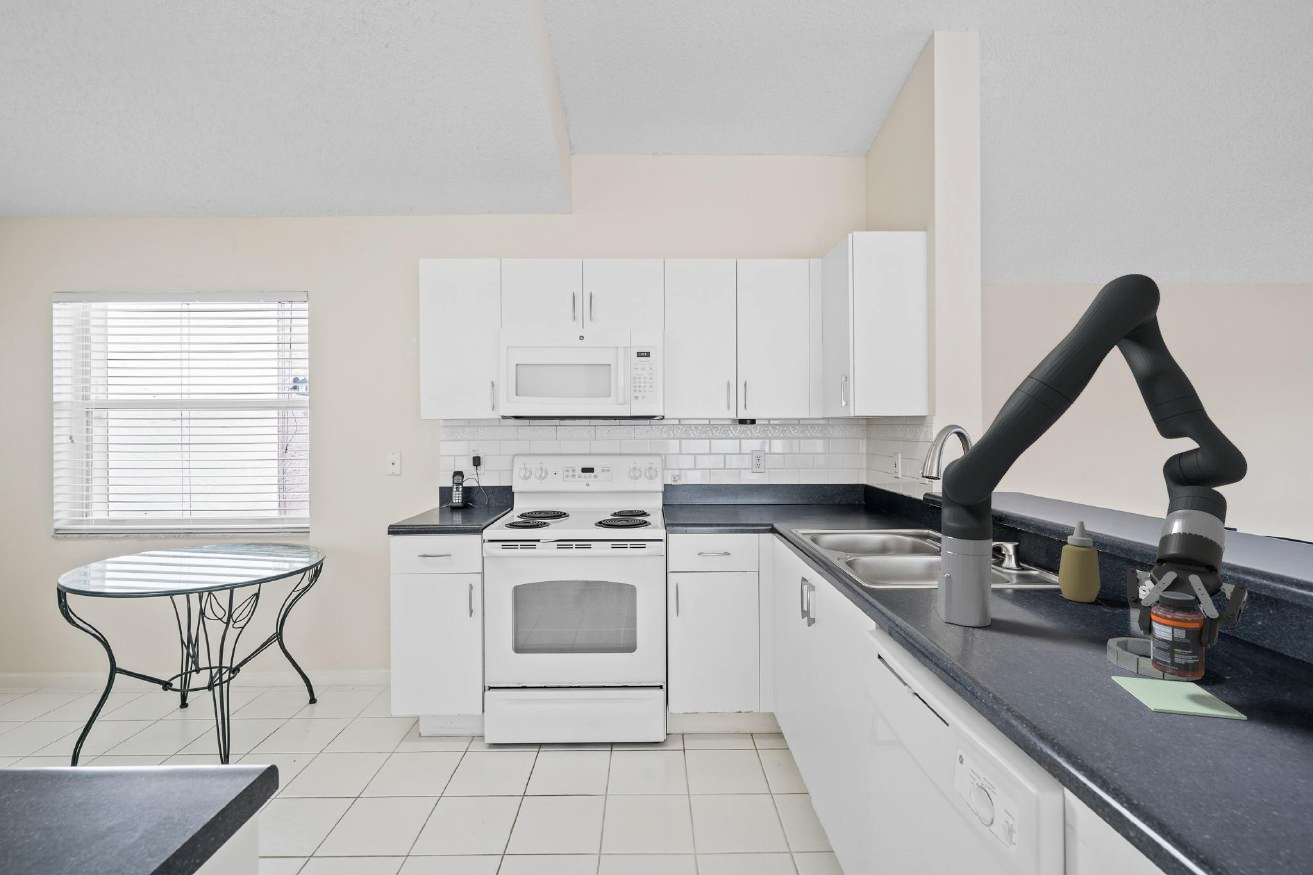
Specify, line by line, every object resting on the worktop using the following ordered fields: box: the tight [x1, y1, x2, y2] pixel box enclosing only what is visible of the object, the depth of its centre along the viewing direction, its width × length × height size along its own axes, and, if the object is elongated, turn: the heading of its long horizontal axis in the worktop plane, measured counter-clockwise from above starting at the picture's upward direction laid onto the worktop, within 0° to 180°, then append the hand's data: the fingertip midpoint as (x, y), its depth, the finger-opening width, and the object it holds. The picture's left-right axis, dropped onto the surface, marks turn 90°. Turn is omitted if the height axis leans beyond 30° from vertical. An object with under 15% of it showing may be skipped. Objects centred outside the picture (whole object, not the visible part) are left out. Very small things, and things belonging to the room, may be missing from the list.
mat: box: [1111, 675, 1248, 721], centre depth 88 cm, size 11×11×1 cm
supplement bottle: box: [1150, 592, 1206, 678], centre depth 87 cm, size 6×6×11 cm
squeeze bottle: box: [1057, 520, 1101, 603], centre depth 137 cm, size 8×8×18 cm
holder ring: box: [1106, 636, 1202, 682], centre depth 99 cm, size 12×12×2 cm
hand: (1175, 638), depth 86 cm, fingers closed on supplement bottle, 6 cm apart
